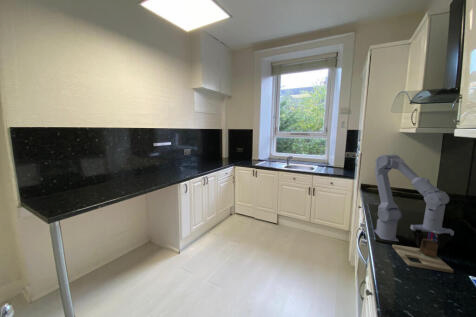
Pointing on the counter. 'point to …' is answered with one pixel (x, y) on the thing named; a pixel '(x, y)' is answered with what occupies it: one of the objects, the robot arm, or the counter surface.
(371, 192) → the counter surface
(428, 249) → the peg
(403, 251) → the board
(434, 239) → the mug
